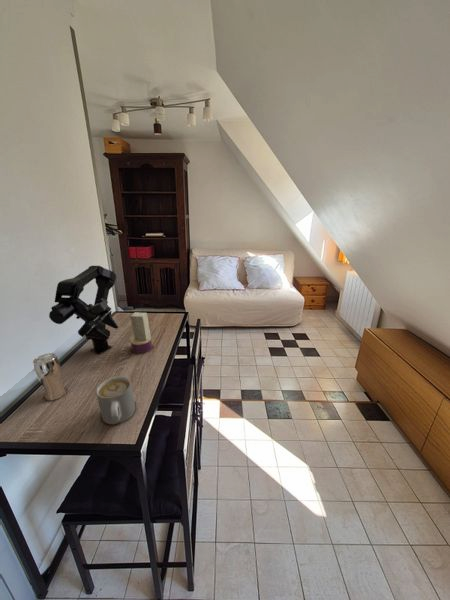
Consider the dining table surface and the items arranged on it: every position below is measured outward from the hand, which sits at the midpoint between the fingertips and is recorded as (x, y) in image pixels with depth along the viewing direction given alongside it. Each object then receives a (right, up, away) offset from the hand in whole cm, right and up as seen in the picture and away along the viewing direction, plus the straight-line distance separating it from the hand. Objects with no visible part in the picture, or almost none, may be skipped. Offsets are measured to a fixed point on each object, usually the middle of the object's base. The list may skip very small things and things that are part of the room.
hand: (113, 333), depth 103 cm
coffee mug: (+12, -23, -24) cm, 36 cm away
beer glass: (-14, -20, -14) cm, 28 cm away
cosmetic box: (+8, -4, +12) cm, 15 cm away
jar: (+7, -9, +14) cm, 18 cm away
